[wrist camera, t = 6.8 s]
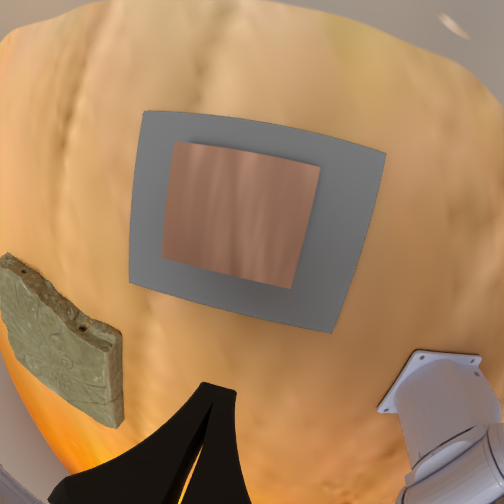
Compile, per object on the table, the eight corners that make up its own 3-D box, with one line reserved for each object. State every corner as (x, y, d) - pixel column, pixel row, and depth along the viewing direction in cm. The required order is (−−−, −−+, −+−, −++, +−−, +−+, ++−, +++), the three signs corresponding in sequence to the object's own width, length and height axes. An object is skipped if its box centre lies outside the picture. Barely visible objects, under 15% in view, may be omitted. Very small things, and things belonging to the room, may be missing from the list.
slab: (320, 167, 13) (174, 141, 14) (290, 289, 16) (161, 257, 16) (316, 166, 16) (189, 143, 16) (291, 272, 18) (176, 246, 19)
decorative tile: (125, 418, 29) (115, 436, 26) (25, 350, 30) (12, 361, 26) (130, 321, 23) (110, 342, 20) (8, 245, 23) (-12, 254, 20)
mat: (384, 153, 15) (386, 153, 15) (330, 329, 19) (331, 333, 19) (147, 111, 16) (143, 110, 16) (132, 280, 21) (128, 282, 20)
